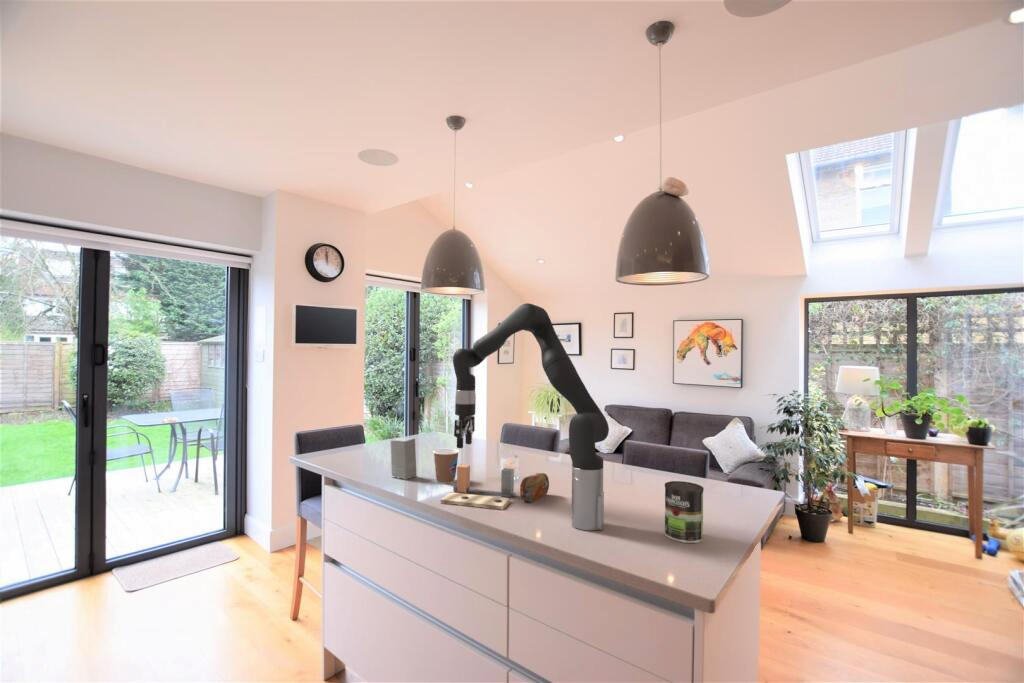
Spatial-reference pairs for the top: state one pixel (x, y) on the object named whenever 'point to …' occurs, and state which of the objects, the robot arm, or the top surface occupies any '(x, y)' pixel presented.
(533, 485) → the brown rounded flat piece
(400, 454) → the skincare box
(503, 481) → the dividers rail
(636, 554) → the top surface
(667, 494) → the coffee can
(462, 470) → the block
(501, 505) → the hole board
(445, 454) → the coffee cup
